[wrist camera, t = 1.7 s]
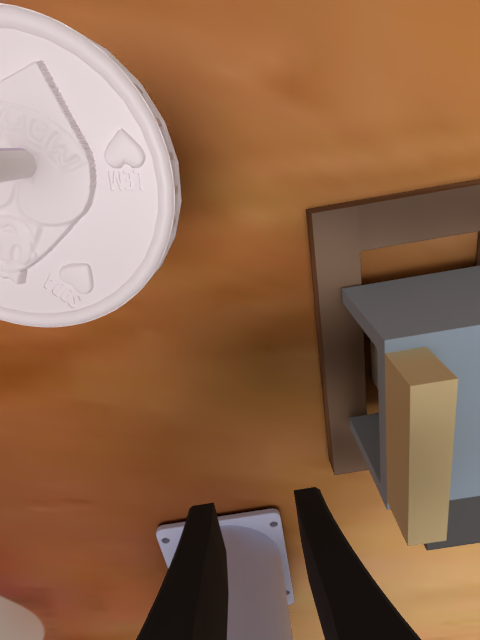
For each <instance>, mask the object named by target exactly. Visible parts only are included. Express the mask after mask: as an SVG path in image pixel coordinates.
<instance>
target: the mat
mask: <svg viewBox="0 0 480 640" xmlns="http://www.w3.org/2000/svg"><path fill="white" fill-rule="evenodd" d="M474 543H480V496H475V497H468V498H461V499H455V500H449V512H448V526H447V539H446V541H440V542H433V543H426V544H424V545H425V547H426V549H427V550H433V549H440V548H447V547H453V546H460V545H467V544H474Z"/></svg>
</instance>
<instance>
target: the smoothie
mask: <svg viewBox="0 0 480 640" xmlns="http://www.w3.org/2000/svg"><path fill="white" fill-rule="evenodd" d="M181 202H182V198H181V186H180V174H179V162H178V159H177V156H176V153H175V150H174V147H173V144H172V141H171V138H170V135H169V132H168V129H167V126H166V123H165V121H164V119H163V118H162V116H161V115H160V113H159V111H158V110H157V108H156V106H155V105H154V103H153V102H152V100H151V98H150V97H149V95H148V94H147V92H146V90H145V89H144V87H143V85H142V84H141V83H140V82H139V81H138V80H137V79H136V78H135V77H134V76H133V75H132V74H131V73H130V72H129V71H128V70H127V69H126V68H125V67H124V66H123V65H122V64H121V63H120V62H119V61H118V60H117V59H116V58H115V57H114V56H113V55H112V54H111V53H110V52H109V51H108V50H107V49H105V48H104V47H102V46H100V45H99V44H97V43H95V42H94V41H92V40H90V39H89V38H87V37H85V36H84V35H82V34H80V33H79V32H77V31H75V30H74V29H72V28H70V27H69V26H67V25H65V24H63V23H61V22H59V21H57V20H55V19H53V18H51V17H49V16H46V15H43V14H41V13H38V12H35V11H33V10H29V9H26V8H22V7H18V6H15V5H9V4H2V3H0V320H3V321H7V322H11V323H15V324H20V325H26V326H36V327H62V326H70V325H76V324H81V323H85V322H88V321H92V320H94V319H97V318H100V317H102V316H105V315H106V314H108V313H110V312H112V311H114V310H116V309H118V308H119V307H121V306H122V305H124V304H125V303H126V302H128V301H129V300H130V299H131V298H133V297H134V296H135V295H136V294H137V293H138V292H139V291H140V290H141V289H142V288H143V287H144V286H145V284H146V283H147V282H148V281H149V279H150V278H151V277H152V276H153V275H154V274H155V272H156V271H157V270H158V269H159V268H160V267H161V266H162V263H163V261H164V259H165V257H166V255H167V253H168V251H169V249H170V247H171V245H172V243H173V240H174V238H175V236H176V231H177V225H178V219H179V214H180V208H181Z"/></svg>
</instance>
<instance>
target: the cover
mask: <svg viewBox="0 0 480 640" xmlns="http://www.w3.org/2000/svg"><path fill="white" fill-rule="evenodd" d="M342 303H343V304H344V305H345V307H346V308H347V309H348V311H349V312H350V313H351V315H352V316H353V317H354V319H355V320H356V321H357V323H358V324H359V325H360V326H361V328H362V329H363V330H364V332H365V333H366V334H367V336H368V337H369V338H370V340H371V341H372V342H373V344H374V345H375V346H376V347H377V349H378V390H379V413H375V414H369V415H363V416H356V417H350V429H351V431H352V433H353V435H354V438H355V440H356V442H357V444H358V446H359V449H360V451H361V453H362V455H363V457H364V460H365V462H366V464H367V466H368V468H369V471H370V473H371V475H372V477H373V479H374V482H375V484H376V486H377V488H378V491H379V493H380V495H381V497H382V499H383V502H384V504H385V506H386V508H387V510H389V509H391V511H392V513H393V515H394V517H395V519H396V521H397V524H398V526H399V528H400V530H401V532H402V534H403V537H404V539H405V541H406V543H407V545H408V546H413V545H419V544H426V543H433V542H440V541H446V539H447V526H448V512H449V500H455V499H461V498H468V497H475V496H480V266H474V267H468V268H462V269H456V270H450V271H444V272H438V273H432V274H426V275H420V276H414V277H408V278H402V279H396V280H391V281H385V282H379V283H373V284H367V285H361V286H355V287H349V288H343V289H342Z"/></svg>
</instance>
